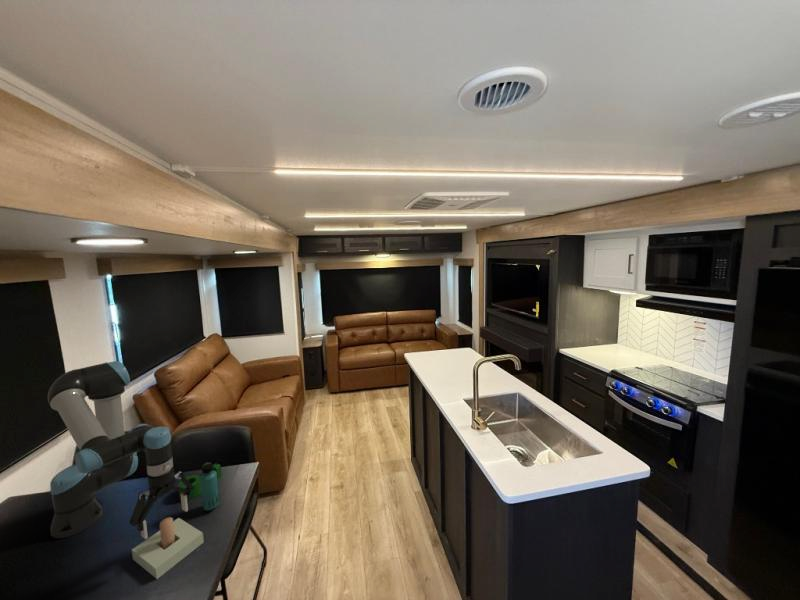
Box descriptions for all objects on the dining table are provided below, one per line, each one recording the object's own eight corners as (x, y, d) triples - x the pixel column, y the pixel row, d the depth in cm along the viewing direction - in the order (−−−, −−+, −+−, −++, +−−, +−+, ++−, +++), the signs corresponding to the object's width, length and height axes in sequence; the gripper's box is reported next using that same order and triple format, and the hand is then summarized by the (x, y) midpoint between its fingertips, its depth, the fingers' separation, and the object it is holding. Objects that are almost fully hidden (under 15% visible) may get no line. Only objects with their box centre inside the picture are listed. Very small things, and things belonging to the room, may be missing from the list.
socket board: (133, 559, 116) (131, 549, 115) (179, 526, 130) (178, 517, 129) (157, 579, 109) (155, 568, 108) (203, 542, 123) (202, 532, 122)
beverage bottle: (207, 516, 135) (203, 472, 133) (199, 509, 139) (195, 467, 136) (223, 506, 141) (219, 464, 138) (214, 500, 144) (211, 459, 142)
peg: (160, 552, 118) (157, 523, 117) (172, 544, 122) (169, 515, 120) (166, 557, 117) (163, 527, 115) (178, 548, 120) (175, 519, 119)
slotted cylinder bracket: (190, 502, 143) (189, 489, 142) (174, 499, 145) (173, 486, 144) (221, 476, 160) (220, 464, 160) (206, 473, 162) (205, 461, 162)
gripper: (123, 497, 102) (130, 554, 105) (201, 454, 124) (205, 503, 127) (112, 489, 106) (119, 545, 109) (190, 449, 128) (194, 496, 131)
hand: (165, 522), depth 118 cm, fingers open, 13 cm apart
